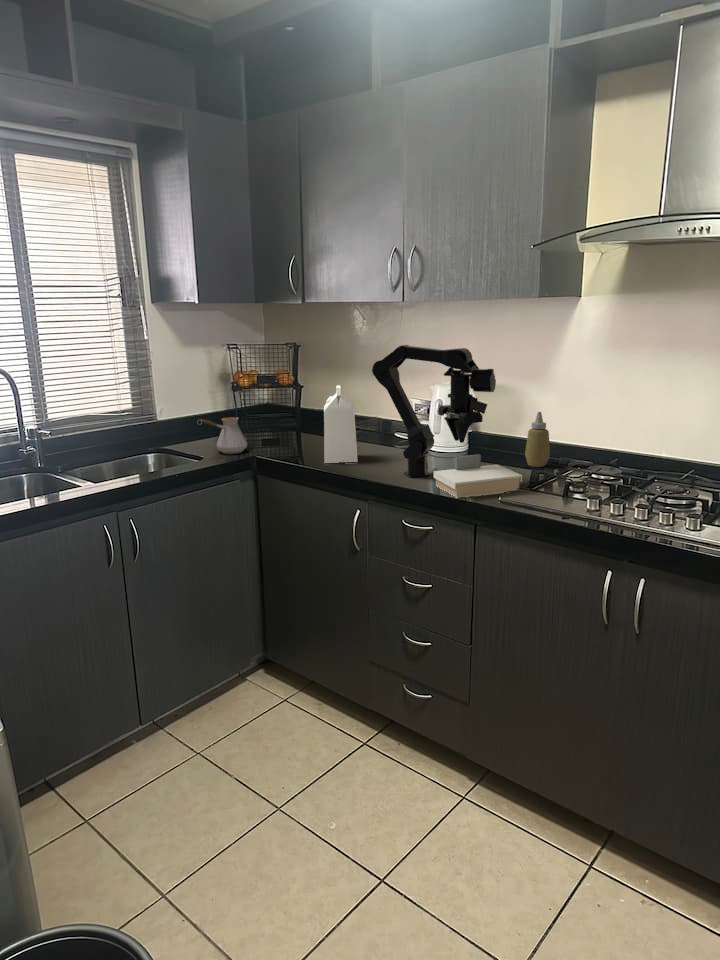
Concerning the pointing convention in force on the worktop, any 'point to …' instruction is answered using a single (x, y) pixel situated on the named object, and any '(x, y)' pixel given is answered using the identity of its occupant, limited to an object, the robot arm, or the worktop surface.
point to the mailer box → (480, 487)
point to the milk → (339, 430)
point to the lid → (473, 472)
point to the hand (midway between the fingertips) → (459, 441)
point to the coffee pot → (229, 436)
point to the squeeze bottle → (538, 443)
